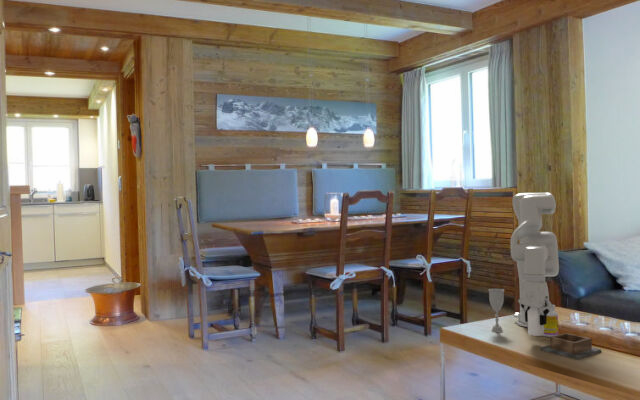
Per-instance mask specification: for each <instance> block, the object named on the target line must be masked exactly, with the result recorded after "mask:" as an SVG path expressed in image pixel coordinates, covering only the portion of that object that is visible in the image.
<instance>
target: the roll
mask: <svg viewBox="0 0 640 400" xmlns="http://www.w3.org/2000/svg"><path fill="white" fill-rule="evenodd" d="M540 315H541V312H540V309H539V308H535V307H531V308H530V309H529V310H528V327H527V334H528V335H529V336H535V337H542V336H543V335H544V325H540Z"/></svg>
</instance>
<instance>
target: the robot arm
mask: <svg viewBox="0 0 640 400" xmlns="http://www.w3.org/2000/svg"><path fill="white" fill-rule="evenodd" d="M511 203H512V208H513V211H514V214H515V216H516V218H517V221H518V226H517V227H516V229H515V230H513V233H512V234H511V237H510V257H511V259H512V260H513V261H514V262H516V267H517V272H518V281H519V282H518V284H519V298H518V300H517V302H518V303H519V312H514V314H513V318H516V319H517V321H516V325H518V326H520V327H525V328H528V310H529V309H530V308H531V307H535V308H539V309H540V312H541V315H540V325H545V324H546V322H547V314H548V313H549V312H550V311H551V310H552V309H553V308H554V306H553V305H554V304H553V305H552V302H551V301H550V295H549V288H548V283H547V281H546V277H547V278H548V277H553V278H554V277H556V276H558V274H559V271H560V265H559V247H558V238H557V236H556V234H555V233H554V232H552V231H540V230H542V227H543V219H542V215H554V213H555V212H556V207H557V203H556V199H555V196H554V194H553V193H551V192H520V193H517V194H514V195H513V197H512V202H511ZM518 241H519V243H518ZM547 306H548V308H546V307H547ZM543 310H544V311H543Z"/></svg>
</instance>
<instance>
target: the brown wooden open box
mask: <svg viewBox="0 0 640 400" xmlns="http://www.w3.org/2000/svg"><path fill="white" fill-rule="evenodd" d="M592 343H593V341H592V338H591V337H587V336H583V335H582V336H581V335H577V334H573V333H570V332H569V333H567V332H565V333H560V334H558V335H556V336H552V337H549V344H548V345H544V346H541V347H540V350H541V351H544V352H548V353H552V354H555V355H559V356H563V357H566V358H571V359H574V360H581V359H583V358H587V357H591V356H593V355H597V354H599V353H602V349H601V348H598V347H597V348H596V347H593V345H592Z"/></svg>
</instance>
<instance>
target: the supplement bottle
mask: <svg viewBox="0 0 640 400" xmlns="http://www.w3.org/2000/svg"><path fill="white" fill-rule="evenodd" d="M551 304H552V303H551ZM552 305H553V306H554V308H553V309H552V310H551V311H550V312H549V313H548V314H547V322H546V324H545V325H544V335H542V336H543V337H547V338H548V337H549V338H550V337H552V336H556V335H559V313H558V312H557V311H556V305H555V304H552ZM546 308H548V306H547V307H546ZM543 311H544V310H543Z"/></svg>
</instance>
